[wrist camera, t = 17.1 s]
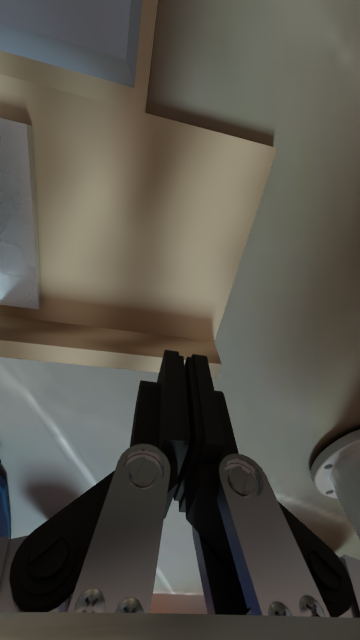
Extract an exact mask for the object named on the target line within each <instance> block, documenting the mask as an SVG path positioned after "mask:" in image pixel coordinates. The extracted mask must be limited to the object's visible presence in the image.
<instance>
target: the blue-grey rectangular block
mask: <svg viewBox="0 0 360 640" xmlns="http://www.w3.org/2000/svg"><path fill="white" fill-rule="evenodd" d="M142 1H143V0H0V50H1V51H5V52H8V53H12V54H15V55H19V56H22V57H26V58H30V59H33V60H37V61H40V62H44V63H47V64H51V65H54V66H58V67H62V68H65V69H69V70H72V71H76V72H79V73H83V74H86V75H90V76H94V77H97V78H101V79H104V80H108V81H111V82H115V83H118V84H122V85H126V86H129V87H133V88H134V87H135V76H136V65H137V54H138V44H139V33H140V22H141V12H142Z"/></svg>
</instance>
